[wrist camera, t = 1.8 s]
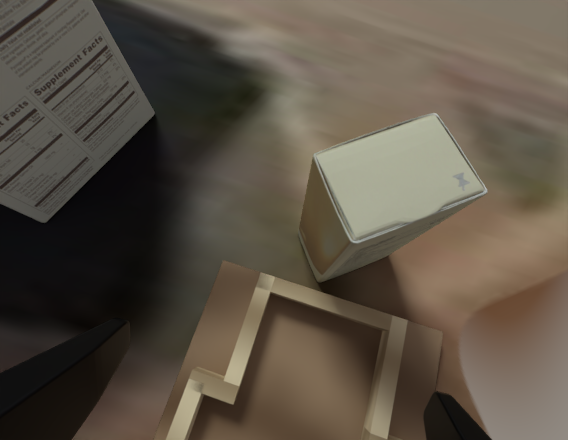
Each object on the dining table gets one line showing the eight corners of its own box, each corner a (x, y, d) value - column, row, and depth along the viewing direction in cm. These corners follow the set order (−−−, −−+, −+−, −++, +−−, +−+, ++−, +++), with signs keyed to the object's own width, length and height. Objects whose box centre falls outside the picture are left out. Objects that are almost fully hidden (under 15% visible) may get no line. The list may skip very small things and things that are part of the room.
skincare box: (365, 207, 25) (443, 106, 14) (390, 256, 24) (499, 190, 12) (292, 234, 24) (308, 149, 13) (313, 286, 23) (354, 245, 11)
